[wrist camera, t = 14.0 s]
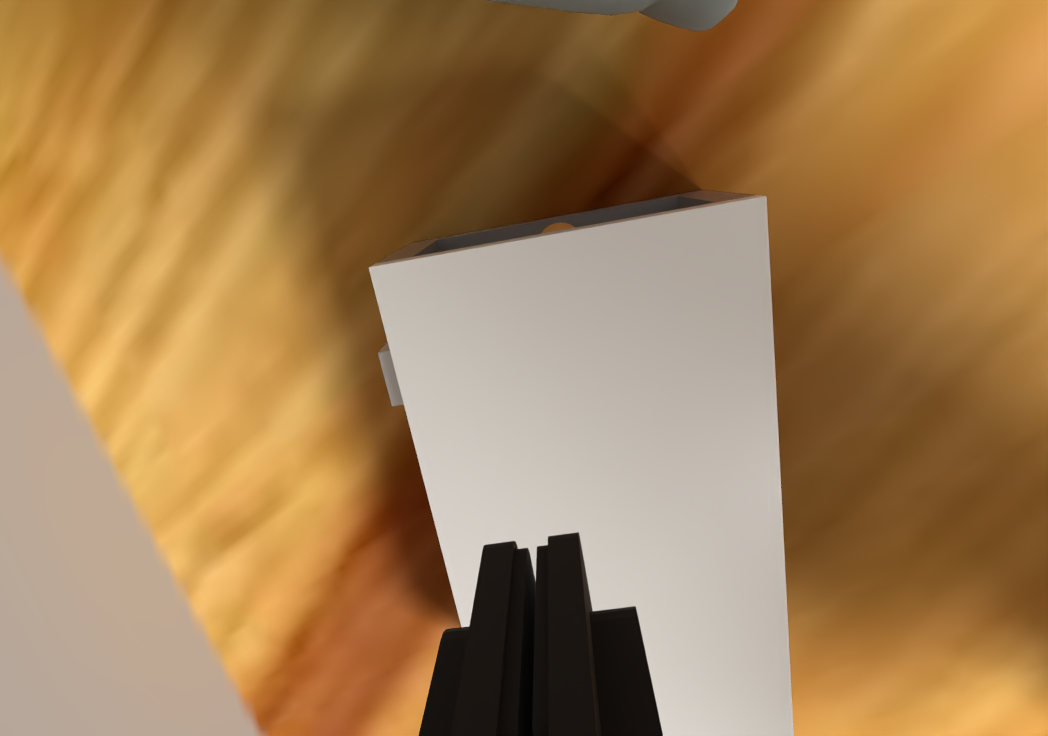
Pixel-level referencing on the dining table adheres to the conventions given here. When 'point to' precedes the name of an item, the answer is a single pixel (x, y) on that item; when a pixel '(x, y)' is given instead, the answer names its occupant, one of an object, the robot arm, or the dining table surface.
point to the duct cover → (615, 434)
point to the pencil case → (646, 9)
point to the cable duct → (540, 228)
